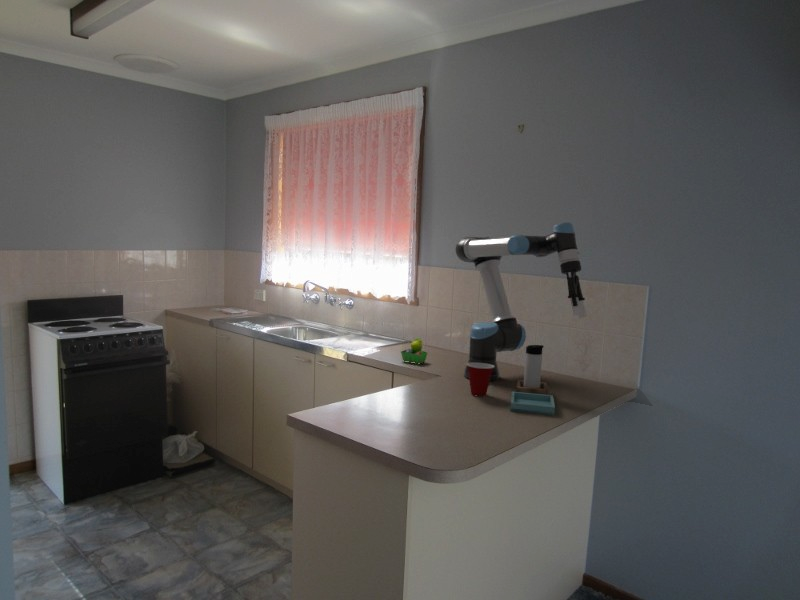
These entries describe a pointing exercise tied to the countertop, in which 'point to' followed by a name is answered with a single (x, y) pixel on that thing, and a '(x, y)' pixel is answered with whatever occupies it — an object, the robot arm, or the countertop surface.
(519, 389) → the open wooden box
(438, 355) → the countertop surface
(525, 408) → the tray
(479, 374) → the plastic cup
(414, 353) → the fruit basket
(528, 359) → the travel mug
